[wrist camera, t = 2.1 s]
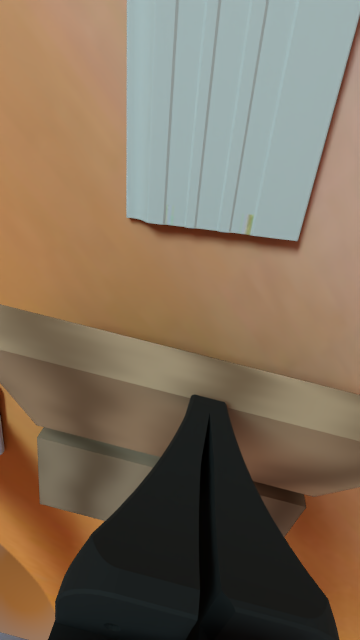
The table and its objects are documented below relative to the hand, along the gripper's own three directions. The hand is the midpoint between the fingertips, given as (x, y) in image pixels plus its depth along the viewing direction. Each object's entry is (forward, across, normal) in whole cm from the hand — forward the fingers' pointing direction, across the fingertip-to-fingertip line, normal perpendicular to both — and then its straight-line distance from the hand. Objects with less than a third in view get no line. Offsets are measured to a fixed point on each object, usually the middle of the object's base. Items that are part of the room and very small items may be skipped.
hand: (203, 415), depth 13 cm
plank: (+5, 0, +4) cm, 6 cm away
